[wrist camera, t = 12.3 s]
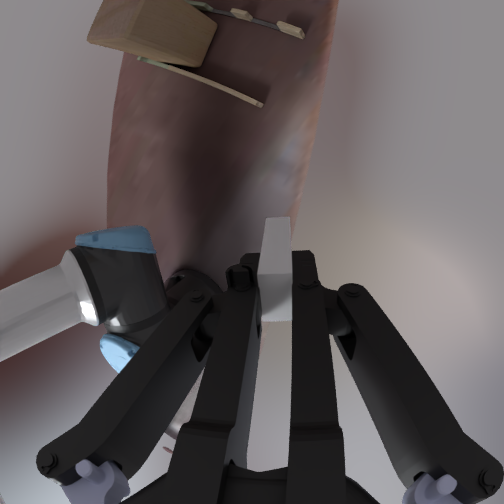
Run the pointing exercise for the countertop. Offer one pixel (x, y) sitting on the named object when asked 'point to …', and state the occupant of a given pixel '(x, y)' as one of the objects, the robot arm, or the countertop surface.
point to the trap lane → (237, 14)
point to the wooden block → (154, 30)
